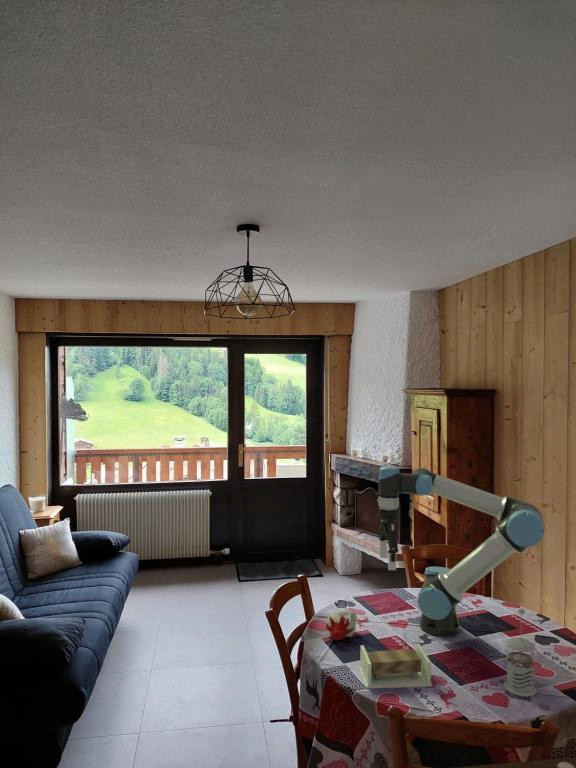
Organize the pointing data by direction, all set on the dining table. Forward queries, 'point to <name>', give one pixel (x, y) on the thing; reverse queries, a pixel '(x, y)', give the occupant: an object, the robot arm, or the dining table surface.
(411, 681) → the shelf frame
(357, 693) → the dining table surface
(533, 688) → the french press
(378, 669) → the brown long block
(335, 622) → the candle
